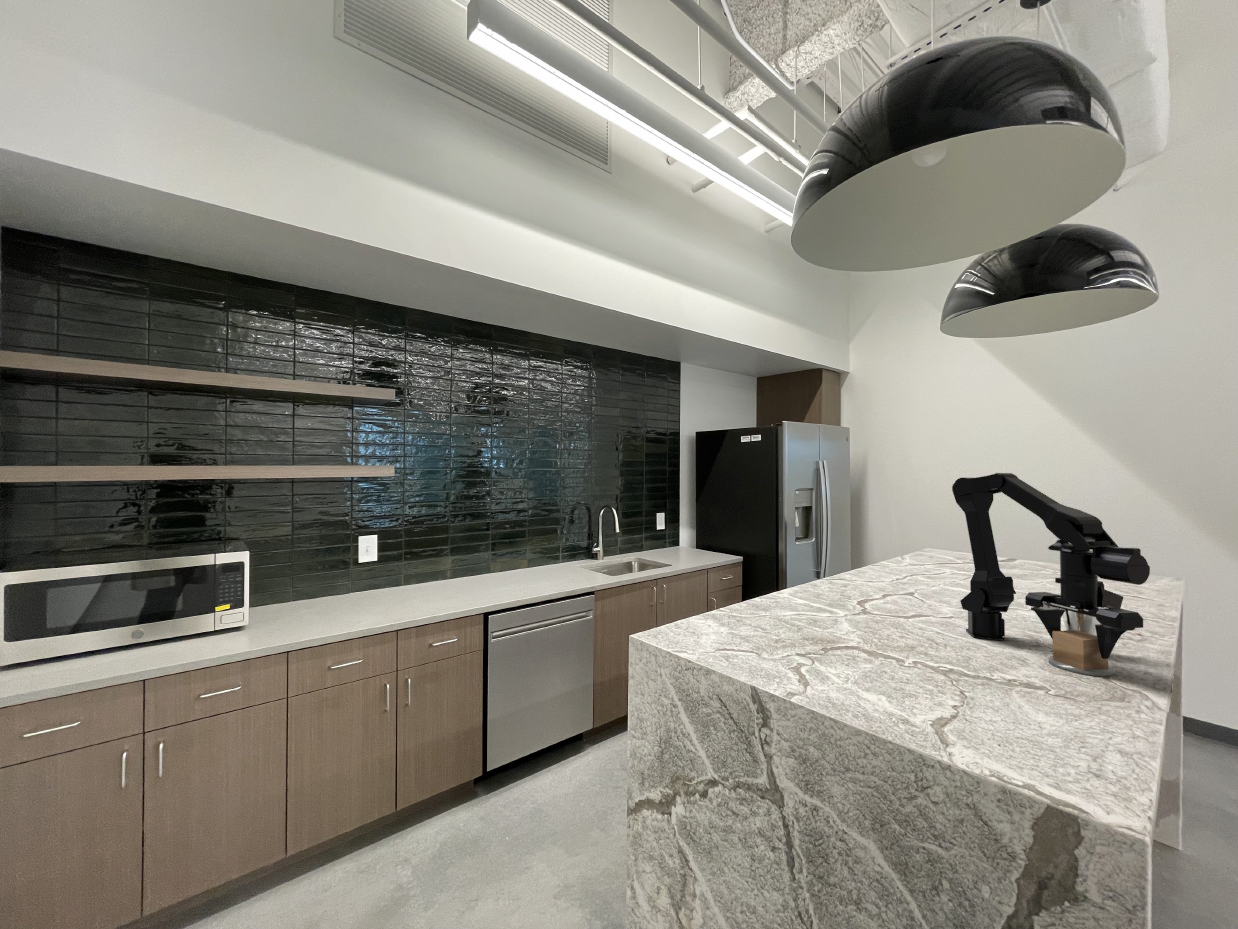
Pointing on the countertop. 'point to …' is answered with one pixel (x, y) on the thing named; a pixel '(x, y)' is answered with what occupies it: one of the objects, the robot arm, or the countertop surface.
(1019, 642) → the countertop surface
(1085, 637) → the walnut block
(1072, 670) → the slate coaster
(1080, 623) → the beer glass
